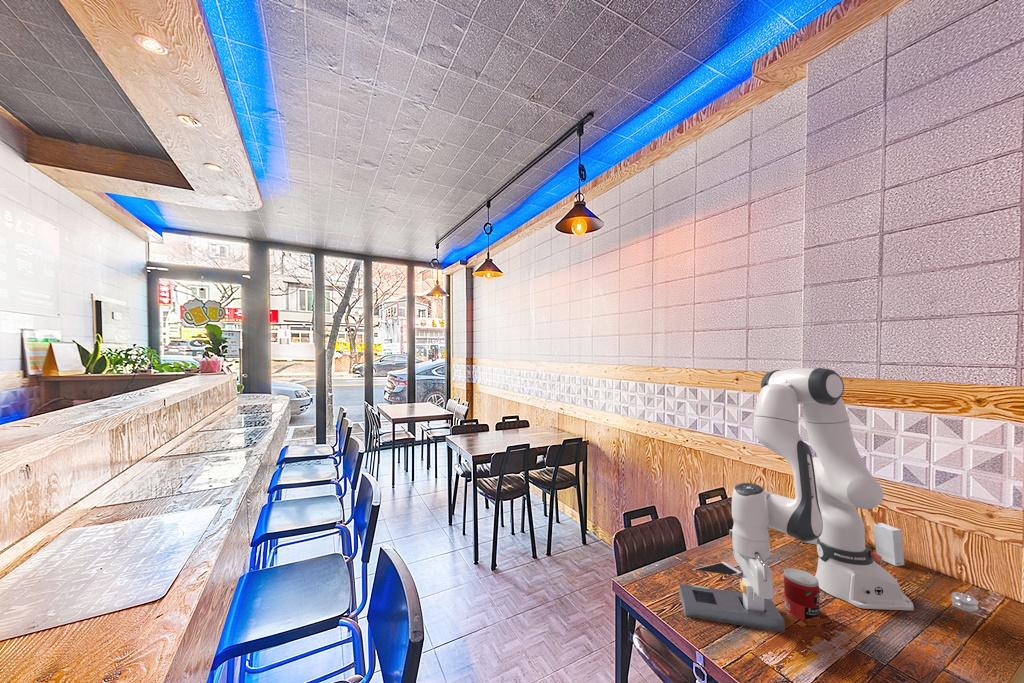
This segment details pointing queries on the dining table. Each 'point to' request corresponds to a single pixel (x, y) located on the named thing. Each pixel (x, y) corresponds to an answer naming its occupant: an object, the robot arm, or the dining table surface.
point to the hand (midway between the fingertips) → (753, 595)
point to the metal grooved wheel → (965, 602)
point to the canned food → (802, 595)
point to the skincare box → (889, 544)
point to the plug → (750, 597)
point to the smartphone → (720, 569)
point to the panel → (728, 608)
